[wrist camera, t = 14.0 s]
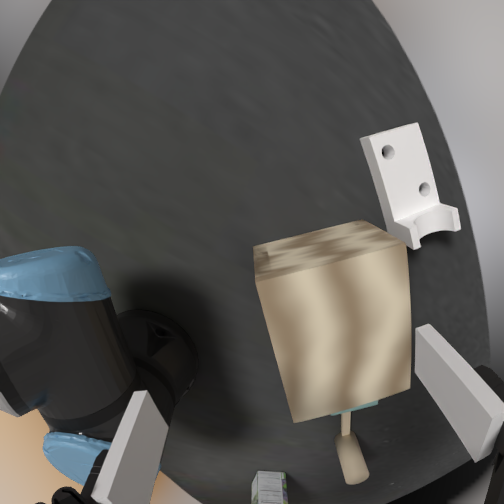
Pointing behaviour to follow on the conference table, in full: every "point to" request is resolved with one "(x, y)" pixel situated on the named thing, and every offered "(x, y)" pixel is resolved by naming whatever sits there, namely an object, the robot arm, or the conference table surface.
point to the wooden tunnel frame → (337, 316)
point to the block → (351, 449)
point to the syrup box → (269, 488)
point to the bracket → (407, 185)
